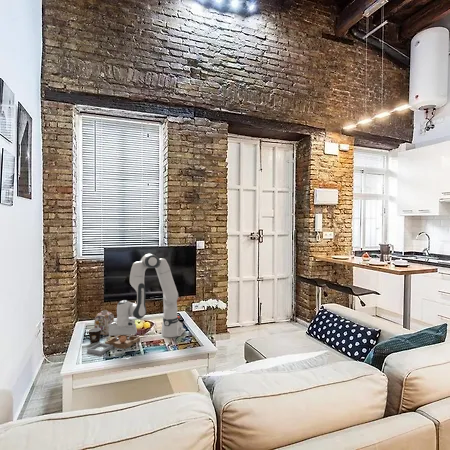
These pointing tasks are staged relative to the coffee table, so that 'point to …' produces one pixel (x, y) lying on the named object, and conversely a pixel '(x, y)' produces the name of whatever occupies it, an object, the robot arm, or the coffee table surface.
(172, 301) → the robot arm
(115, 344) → the brown wooden tray
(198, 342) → the coffee table surface
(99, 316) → the decorative jar
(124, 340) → the ball
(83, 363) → the coffee table surface
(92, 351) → the tray
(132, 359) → the coffee table surface
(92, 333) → the coffee mug
